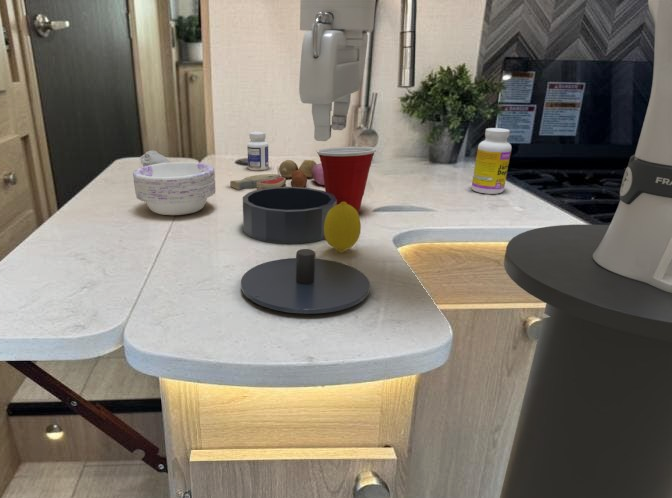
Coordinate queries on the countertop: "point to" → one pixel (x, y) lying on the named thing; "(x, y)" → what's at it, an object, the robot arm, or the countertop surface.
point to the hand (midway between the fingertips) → (331, 134)
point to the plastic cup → (346, 172)
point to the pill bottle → (257, 151)
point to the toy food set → (284, 176)
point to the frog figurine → (152, 158)
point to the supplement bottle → (492, 162)
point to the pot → (286, 214)
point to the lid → (305, 284)
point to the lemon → (342, 227)
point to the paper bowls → (175, 186)
